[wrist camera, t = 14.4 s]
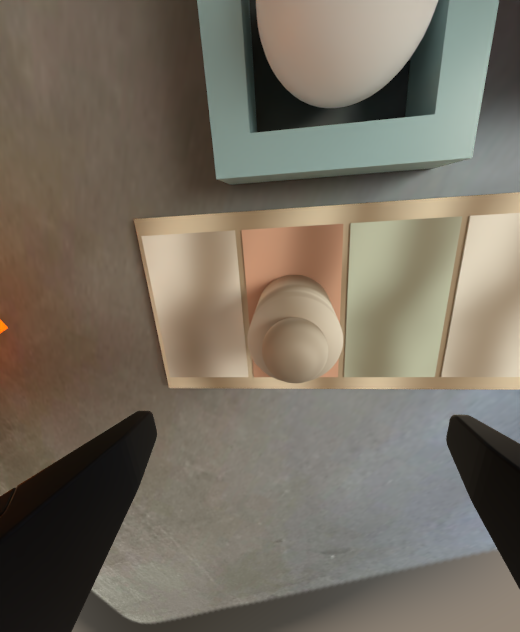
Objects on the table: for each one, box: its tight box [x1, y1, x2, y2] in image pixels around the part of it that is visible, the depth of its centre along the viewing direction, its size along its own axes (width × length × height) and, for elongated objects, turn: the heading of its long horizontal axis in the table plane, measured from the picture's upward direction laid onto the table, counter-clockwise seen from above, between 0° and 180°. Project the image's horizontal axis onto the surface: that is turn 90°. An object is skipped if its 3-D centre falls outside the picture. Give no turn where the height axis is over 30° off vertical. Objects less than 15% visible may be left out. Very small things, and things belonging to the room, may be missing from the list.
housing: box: [197, 0, 499, 185], centre depth 12 cm, size 11×11×4 cm
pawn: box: [247, 275, 343, 383], centre depth 15 cm, size 5×5×7 cm
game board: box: [134, 192, 520, 389], centre depth 18 cm, size 25×12×1 cm, turn 94°
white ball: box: [256, 0, 438, 108], centre depth 10 cm, size 6×6×6 cm
